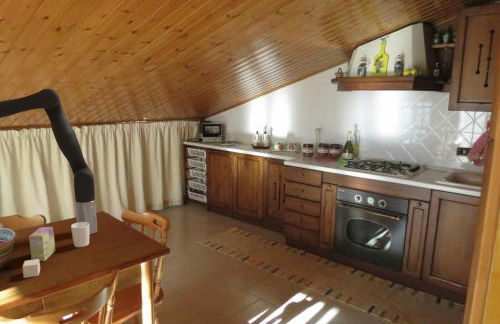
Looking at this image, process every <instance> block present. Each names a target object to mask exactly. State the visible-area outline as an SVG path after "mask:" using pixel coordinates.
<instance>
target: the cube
mask: <svg viewBox="0 0 500 324" xmlns="http://www.w3.org/2000/svg"><path fill="white" fill-rule="evenodd" d="M40 263H41V261H39V259H35V260H32V259H30V260H29V259H28V260H24V262H23V265H22V273H23V278H24V279H25V278H32V277H38V276H39V275H40V271H41V265H40Z"/></svg>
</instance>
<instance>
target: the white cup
mask: <svg viewBox="0 0 500 324" xmlns="http://www.w3.org/2000/svg"><path fill="white" fill-rule="evenodd" d="M70 230H71V236H72V242H73V247H75V248H83V247H87V246H88V245H89V244H90V234H89V223H88V222H78V223H77V222H75V223H72V224H71V225H70Z"/></svg>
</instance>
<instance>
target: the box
mask: <svg viewBox="0 0 500 324" xmlns="http://www.w3.org/2000/svg"><path fill="white" fill-rule="evenodd" d="M28 238H29V247H30V256H31V258H30V259H31V260H35V259H39V262H45V261H47V259H49V258H50V257H51V256H52V255H53V254H54V253H55V252H56V243H55V233H54V227H53V226H44V227H43V226H42V227H39V228H38V229H36V230H35V231H33V232H32V233H31V234H30V235H29V236H28Z"/></svg>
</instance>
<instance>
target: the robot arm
mask: <svg viewBox="0 0 500 324" xmlns="http://www.w3.org/2000/svg"><path fill="white" fill-rule="evenodd" d="M39 109H43V111H44V112H45V114H46V116H47V118H48V121H49V122H50V127H51V131H52V133H53V137H54V139H55V142H56V144H57V146H58V148H59V150H60V151H61V153H62V155H63V157H65V159H66V160H67V162H68V164H69V166H70V168H71V171H72V176H73V188H74V190H73V192H74V199H75V200H74V201H75V213H76V223H78V222H88V223H89V235H93V234H95V233H98V222H97V221H98V220H97V212H96V211H97V209H96V208H97V207H96V192H95V178H94V174H93V172H92V170H91V169H90V167H89V164H88V163H87V162H86V159H85V157H84V154H83V151H82V147H81V144H80V142H79V139H78V136H77V135H76V133H75V129H73V126H72V124H71V122H70V121H69V119H68V118H67V115H66V114H65V112H64V109H63V106H62V102H61V99H60V95H59V93H58V92H57V91H56V90H54V89H53V88H42V89H41V90H39V91H37V92H35V93H32V94H29V95H27V96H23V97H17V98H12V99H6V100H2V101H1V100H0V119H2V118H6V117H10V116H15V115H17V114H20V113H23V112H27V111H32V110H39Z"/></svg>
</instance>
